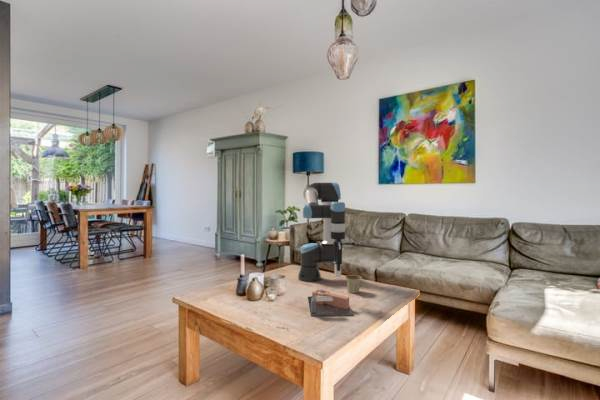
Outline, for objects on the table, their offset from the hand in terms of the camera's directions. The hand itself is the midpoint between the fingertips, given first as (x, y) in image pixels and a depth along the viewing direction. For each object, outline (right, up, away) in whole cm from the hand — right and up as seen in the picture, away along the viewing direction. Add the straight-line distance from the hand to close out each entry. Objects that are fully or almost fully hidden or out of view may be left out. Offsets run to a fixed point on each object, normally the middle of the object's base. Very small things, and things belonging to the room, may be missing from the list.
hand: (337, 275), depth 164 cm
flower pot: (+11, -14, +18) cm, 25 cm away
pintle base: (-5, -15, -5) cm, 16 cm away
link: (-4, -14, -4) cm, 15 cm away
